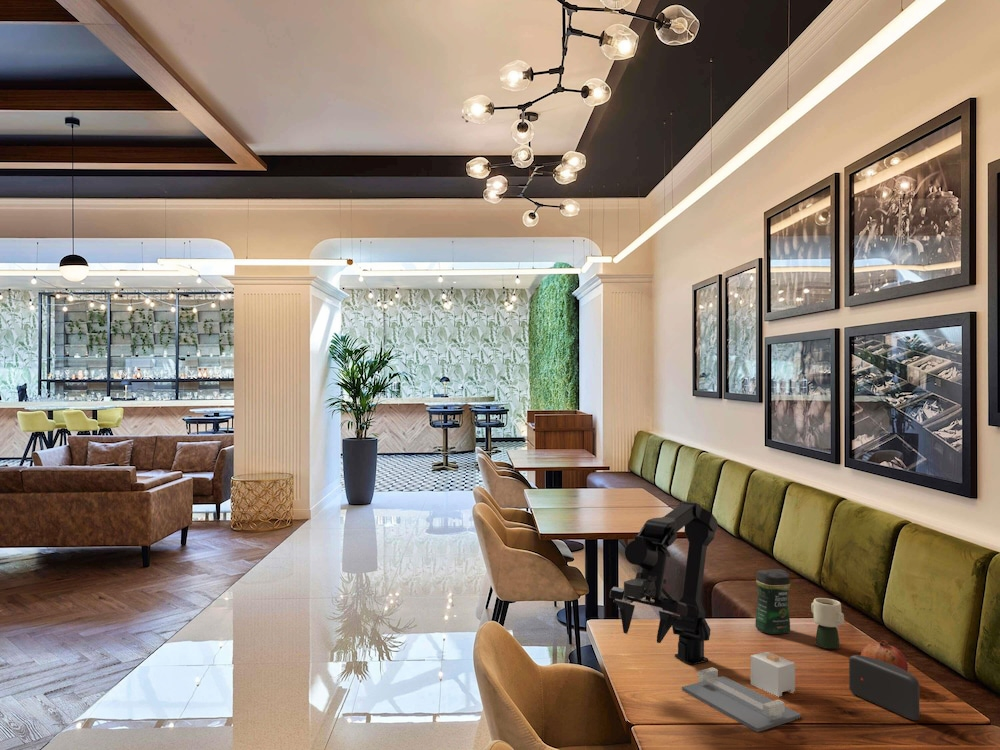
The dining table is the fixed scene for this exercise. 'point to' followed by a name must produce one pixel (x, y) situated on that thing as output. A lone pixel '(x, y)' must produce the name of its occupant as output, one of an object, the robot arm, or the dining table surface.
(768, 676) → the block
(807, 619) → the dining table surface
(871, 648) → the fruit
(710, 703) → the mounting plate
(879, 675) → the dark grey smartphone
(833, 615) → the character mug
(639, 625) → the dining table surface
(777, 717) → the DIN rail
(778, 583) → the coffee jar
